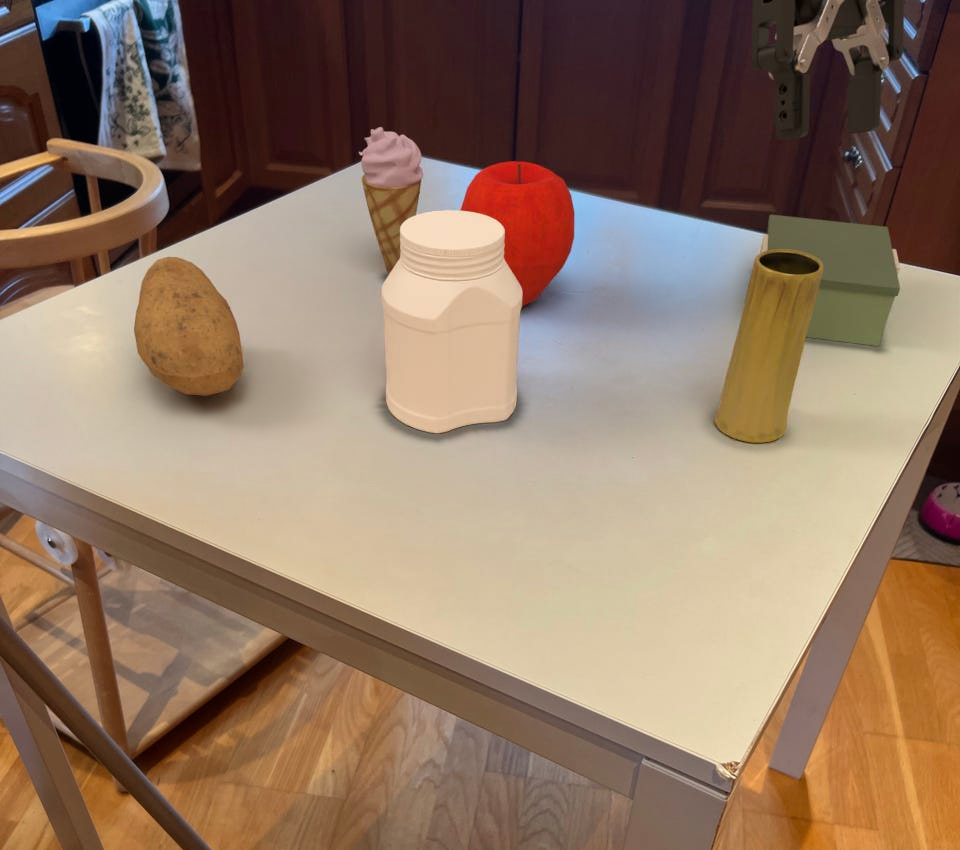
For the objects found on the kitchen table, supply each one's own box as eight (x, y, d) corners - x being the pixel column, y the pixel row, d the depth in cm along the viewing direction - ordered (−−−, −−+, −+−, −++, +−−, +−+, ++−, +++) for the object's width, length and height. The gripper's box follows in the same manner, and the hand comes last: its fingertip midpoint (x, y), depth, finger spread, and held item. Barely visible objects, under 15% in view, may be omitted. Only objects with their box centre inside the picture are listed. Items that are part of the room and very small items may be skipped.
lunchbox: (875, 282, 107) (892, 227, 103) (886, 348, 96) (905, 288, 91) (753, 268, 109) (765, 213, 105) (748, 331, 98) (761, 272, 94)
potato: (152, 432, 81) (127, 326, 74) (141, 349, 92) (119, 250, 85) (256, 419, 83) (241, 314, 77) (234, 339, 94) (218, 241, 87)
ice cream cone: (352, 272, 106) (342, 122, 96) (395, 257, 109) (390, 111, 99) (392, 291, 102) (386, 138, 92) (435, 276, 106) (434, 125, 95)
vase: (780, 410, 86) (823, 248, 76) (790, 446, 82) (836, 280, 72) (711, 405, 86) (745, 244, 77) (717, 441, 82) (753, 275, 72)
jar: (490, 366, 91) (496, 200, 80) (532, 415, 84) (545, 242, 74) (372, 386, 87) (363, 215, 77) (407, 439, 81) (402, 261, 71)
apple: (590, 314, 100) (605, 177, 90) (487, 334, 96) (492, 192, 87) (536, 271, 107) (545, 141, 98) (439, 288, 103) (438, 153, 94)
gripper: (819, -178, 56) (814, 133, 63) (948, -154, 64) (932, 122, 70) (716, -132, 62) (722, 149, 68) (846, -115, 70) (840, 137, 76)
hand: (828, 135), depth 69 cm, fingers open, 8 cm apart
